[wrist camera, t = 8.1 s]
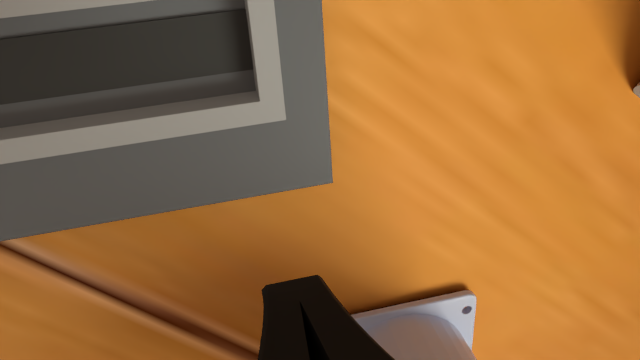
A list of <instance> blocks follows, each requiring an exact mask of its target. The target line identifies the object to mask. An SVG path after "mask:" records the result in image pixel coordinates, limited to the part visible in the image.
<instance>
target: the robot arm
mask: <svg viewBox="0 0 640 360" xmlns="http://www.w3.org/2000/svg"><path fill="white" fill-rule="evenodd" d="M262 295H263V303H264V314H263V328H262V336H261V343H260V350H259V356H258V360H477V359H476V357H475V356H474V354H473V352H472V342H473V331H474V321H475V311H476V296H475V295H474V293H473V292H472V291H470V290H464V291H459V292H455V293H450V294H445V295H441V296H436V297H431V298H427V299H422V300H417V301H413V302H408V303H403V304H399V305H394V306H390V307H385V308H380V309H376V310H371V311H366V312H362V313H357V314H352V315H350V314H349V313H348V311H347V310H346V309H345V308H344V307H343V305H342V304H341V303H340V302H339V301H338V299H337V298H336V297H335V296H334V294H333V293H332V292H331V290H330V289H329V288H328V286H327V285H326V283H325V282H324V280H323V279H322V278H321V277H320V276H318V275H314V276H309V277H304V278H299V279H294V280H290V281H285V282H280V283H275V284H270V285H266V286H265V287H264V288H263V289H262ZM466 306H467V307H466ZM464 307H466V308H464ZM463 308H464V309H463Z"/></svg>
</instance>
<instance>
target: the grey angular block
mask: <svg viewBox="0 0 640 360" xmlns="http://www.w3.org/2000/svg"><path fill="white" fill-rule="evenodd" d="M633 92H634V94H636V95H637V96H638V97H639V98H640V82H639V83H638V84H637V86H636V87H635V88H634V90H633Z"/></svg>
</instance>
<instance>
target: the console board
mask: <svg viewBox="0 0 640 360" xmlns="http://www.w3.org/2000/svg"><path fill="white" fill-rule="evenodd" d="M328 183H333V178H332V162H331V146H330V130H329V114H328V97H327V81H326V65H325V49H324V33H323V17H322V0H0V241H4V240H10V239H16V238H21V237H27V236H33V235H38V234H44V233H50V232H56V231H61V230H67V229H73V228H78V227H84V226H90V225H95V224H101V223H107V222H112V221H118V220H124V219H129V218H135V217H141V216H146V215H152V214H158V213H163V212H169V211H175V210H180V209H186V208H192V207H198V206H203V205H209V204H215V203H220V202H226V201H232V200H237V199H243V198H249V197H254V196H260V195H266V194H271V193H277V192H283V191H288V190H294V189H300V188H305V187H311V186H317V185H322V184H328Z"/></svg>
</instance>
